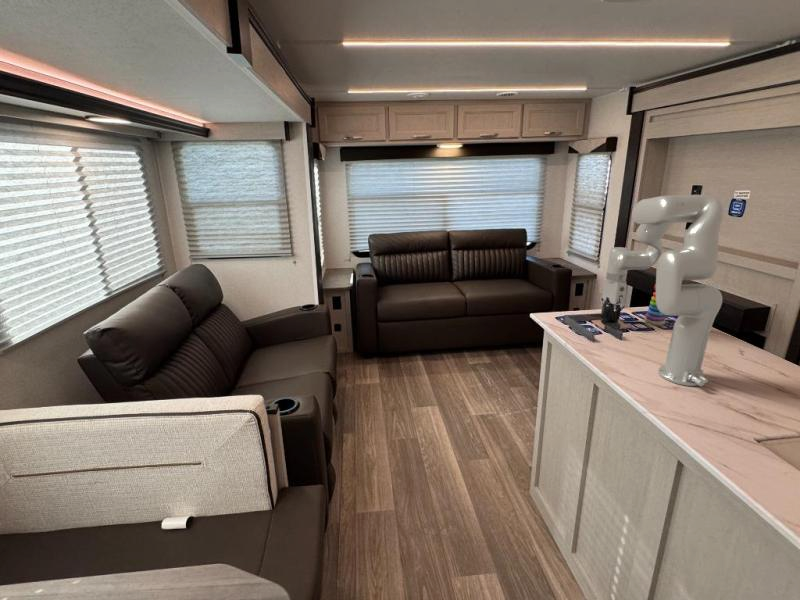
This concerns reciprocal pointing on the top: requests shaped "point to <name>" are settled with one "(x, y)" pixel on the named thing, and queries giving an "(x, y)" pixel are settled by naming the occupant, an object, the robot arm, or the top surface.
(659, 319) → the stacking toy
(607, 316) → the supplement bottle
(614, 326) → the bent rails
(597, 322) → the end pad
